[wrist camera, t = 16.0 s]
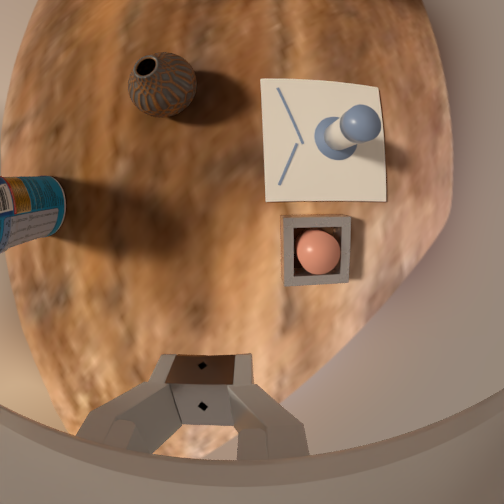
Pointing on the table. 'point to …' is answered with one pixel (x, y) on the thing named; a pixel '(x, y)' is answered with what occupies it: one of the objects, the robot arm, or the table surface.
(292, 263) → the button housing
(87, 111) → the table surface
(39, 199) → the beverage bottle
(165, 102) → the vase
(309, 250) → the button
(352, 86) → the drawing pad
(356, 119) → the dome-topped peg
